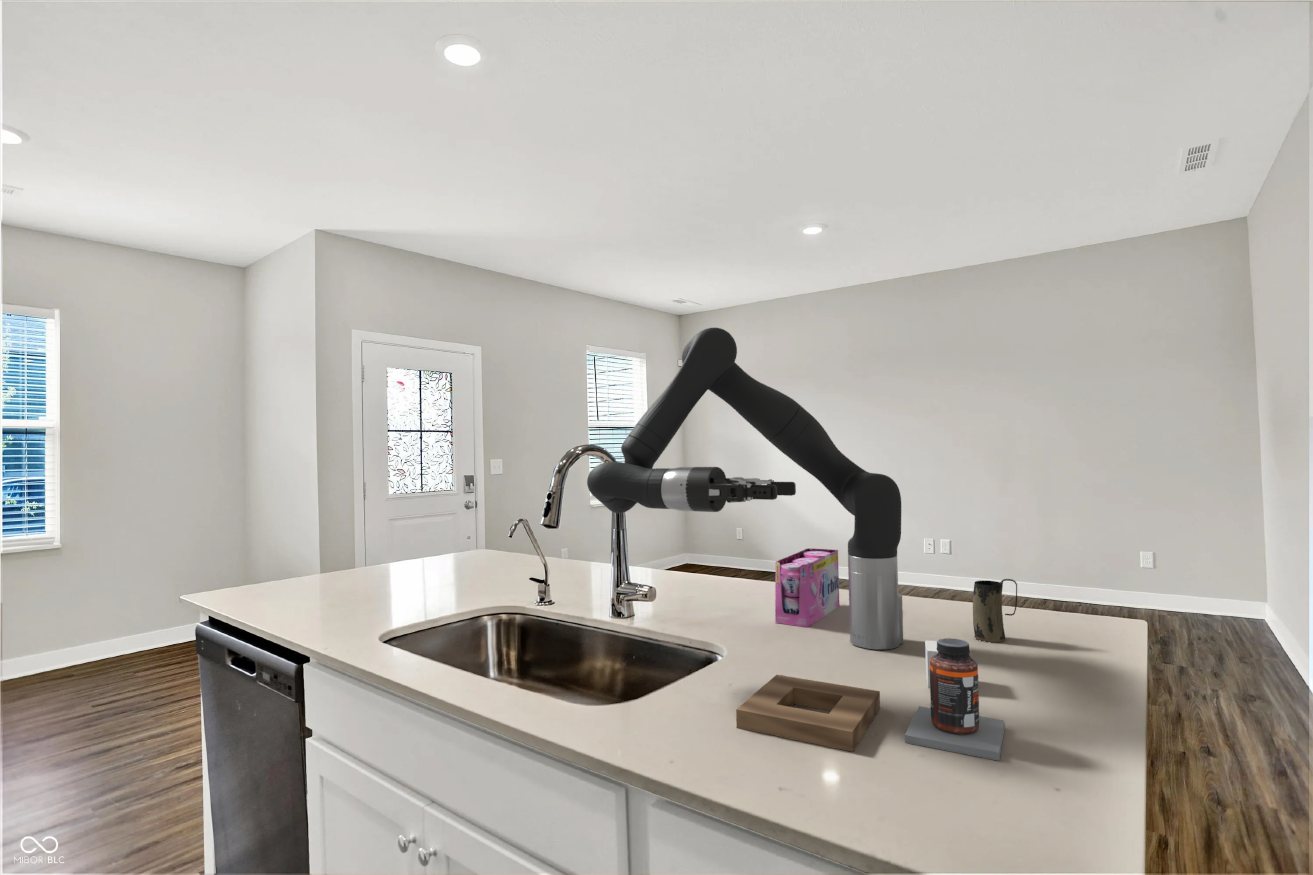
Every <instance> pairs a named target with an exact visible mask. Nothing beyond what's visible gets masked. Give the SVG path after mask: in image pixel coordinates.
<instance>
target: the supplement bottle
mask: <svg viewBox="0 0 1313 875" xmlns="http://www.w3.org/2000/svg"><path fill="white" fill-rule="evenodd" d="M936 641H937V651H938V654H935V655H934V656H932V657H931V659H930V688H929V690H930V693H929V694H930V708H931V721H932V723H933V725H935V726H936V727H937V728H939V729H941V730H943V731H946V732H950V733H955V734H970V733H974V732H975V731H977V730H978V728H979V716H980V708H979V707H980V702H979V701H980V699H979V698H980V697H979V696H980V695H979V669H978V668H979V666H978V663H977V661H975V660H974V659H973V658H972V657H971V655H970V652H971V651H970V643H969V642H968V641H966V640H963V639H959V638H939V639H938V640H936Z"/></svg>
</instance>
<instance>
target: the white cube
mask: <svg viewBox="0 0 1313 875" xmlns="http://www.w3.org/2000/svg"><path fill="white" fill-rule="evenodd" d="M924 645H925V646H924V647H925V678H926V682H927V688H928V689H930V659H931V657H932V656H934V655H935V654H938V651H937V640H925V642H924Z"/></svg>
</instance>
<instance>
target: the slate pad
mask: <svg viewBox="0 0 1313 875" xmlns="http://www.w3.org/2000/svg"><path fill="white" fill-rule="evenodd" d="M1005 726H1006V725H1005V720H1004V719H1001V718H993V717H989V716H988V717H987V716H980V715H979V728H978V730H977V731H975V732H974V733H970V734H955V733H950V732H946V731H943V730H941V729H939V728H937V727H936V726H935V725H933V723H932V721H931V707H928V706H921V705H918V708H917V709H916V712H915V713H914V716H913V717H912V719H911V722H910V724H909V726H908V728H907V729H906V732H905V733H904V743H905V744H906V743H907V744H911V745H914V746H915V745H916V746H920V747H927V748H931V749H935V750H943V751H947V752H952V753H956V754H962V755H968V756H972V757H978V758H983V759H987V760H988V759H989V760H994V761H998V762H1000V760H1001V759H1000V758H1001V752H1002V748H1003V746H1002V745H1003V739H1004V734H1005Z"/></svg>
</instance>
